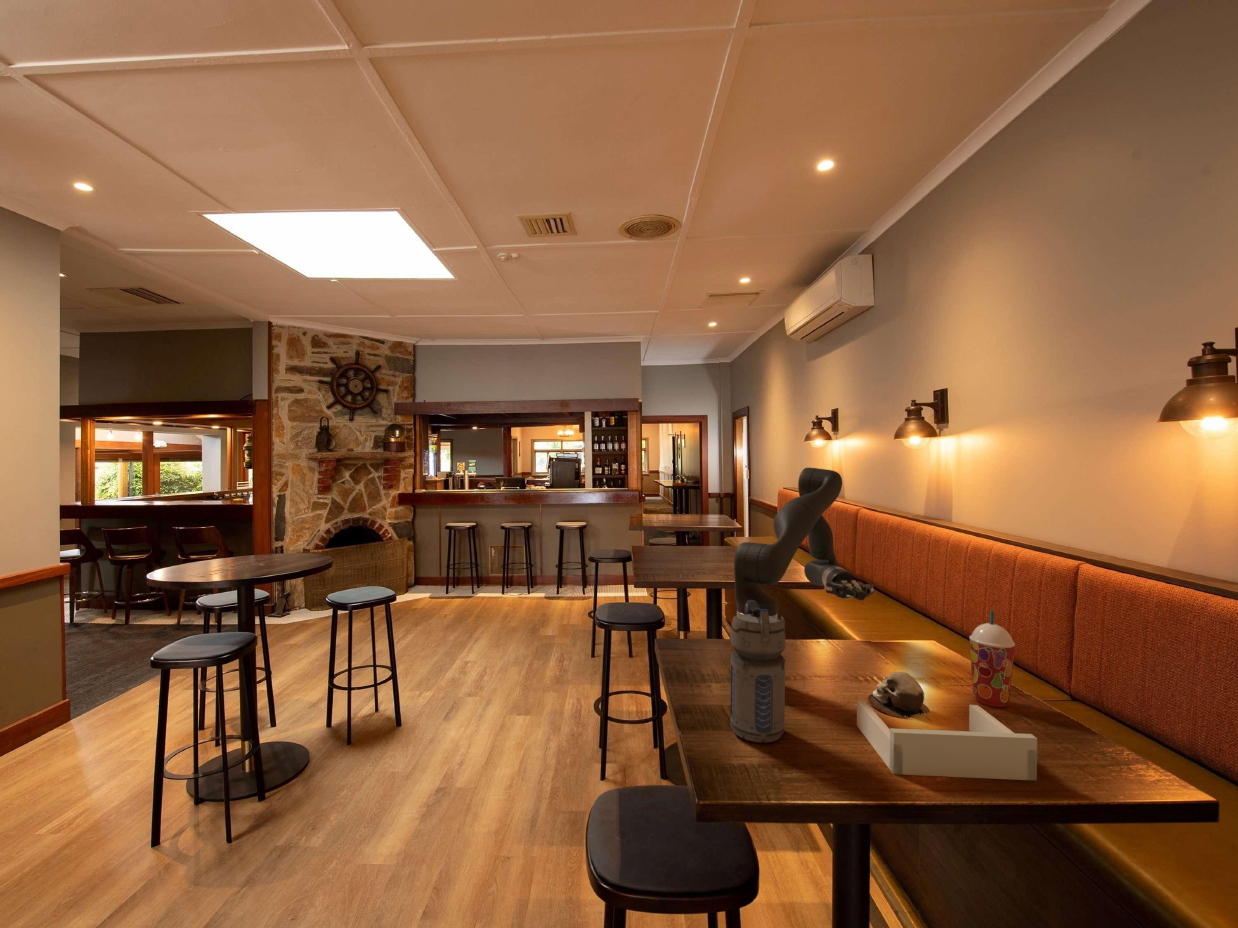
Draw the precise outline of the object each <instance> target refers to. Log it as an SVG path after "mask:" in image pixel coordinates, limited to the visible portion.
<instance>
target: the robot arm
mask: <svg viewBox="0 0 1238 928" xmlns="http://www.w3.org/2000/svg"><path fill="white" fill-rule="evenodd" d="M842 488H843V479H842V476H841V474H840V473H839V472H838V471H836V470H831V469H825V468H817V467H804V468H803V469H802V470H801V472H800V474H799V477H798V482H797V489H798V490H797V491H798V495H799V496H796V497H795V498H792V499H790V500H788V501H787V502H785V504H784V505H783V506H781V508H780V509H779V511H778V512H777V513H776V515H775V516H774V519H773V531H774V533H775V536H776V539H777V540H776V542H774V543H772V544H770V543H768V544H767V543H762V542H761V543H759V542H751V541H744V542H741V543H740V544H739V545H738V546H737V548H736V550H735V553H734V561H733V562H734V563H733V572H734V598H735V602H736V617H738V616H742V615H745V604H746V602H747V601H748V600H754V601H756V602H757V603H758V605H759V608H760V609H767V610H768V613H769V616H771V617H774V618H776V619H778V609H779V608H778V602H777V600H776V599H775V598H774V597H772V596H770V595H768V594H766V592H764V591H763V590H762V589H761V588H760V587H759V585H760V584H761V585H769V586H771V585H776V584H778V583H780V581H781V580H782V579H783V577H784V576H785V574H786V571H787V570H788V568H789V566H790V564H791V562H792V560H793V559H794V556H795V555H796V553H797V551H798V549H799V548H800V547H801V545H802V543H803V542H804V541H805V539H806V538H808V539H807V540H808V551H809V554H810V557H812V558H813V560H810V561H807V562H806V563H805V565H804V570H803V573H804V576H805V578H806V579H807V581H809V582H810V584H813V585H815V586H821V587H825V593H827V594H830V595H834V596H836V597H837V598H839V599H849V598H853V599H855V600H857V601H865V599H866V598H868V597H870V596H872V595H873V594H874V584H873V583H868V584H865V585H864V583H862V582H859V581H858V579H857V577H856V576H855V575H854V574H853V573H852V572H850V571H848V570H847V569H845V568H842V567H841V566H840V564H839V562H838V560H837V557H836V554H835V549H834V534H833V530H832V528H831V526H830V524H829V523H828V521H827V519H826V518H825V517H824V516H823V514H824V513H825V511H827V510H828V509H829V508H830V507H831V506H832V505H833V504H834V503H835V502H836V500H837V498H838V497H839V496H840V493H841V491H842ZM758 584H759V585H758ZM758 614H760V612H759V613H758Z"/></svg>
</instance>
